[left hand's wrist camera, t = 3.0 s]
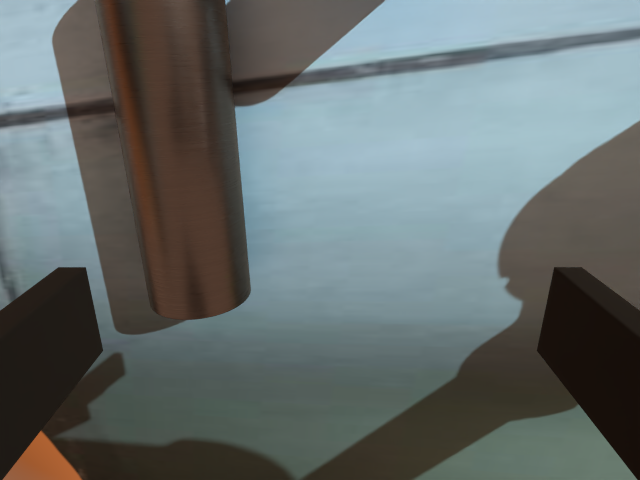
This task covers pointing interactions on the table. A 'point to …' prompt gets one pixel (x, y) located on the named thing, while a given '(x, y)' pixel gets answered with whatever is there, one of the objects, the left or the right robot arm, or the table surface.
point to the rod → (179, 150)
